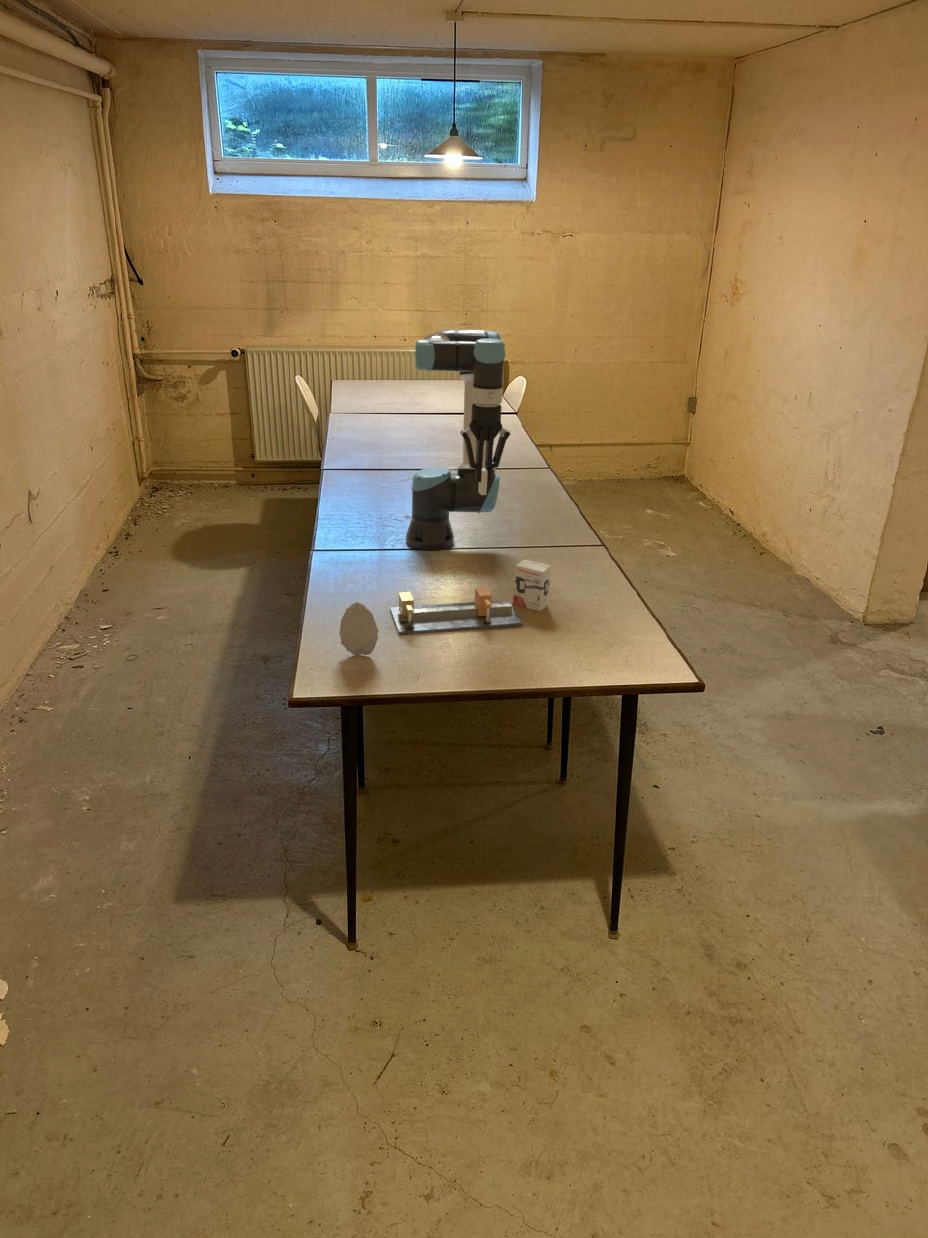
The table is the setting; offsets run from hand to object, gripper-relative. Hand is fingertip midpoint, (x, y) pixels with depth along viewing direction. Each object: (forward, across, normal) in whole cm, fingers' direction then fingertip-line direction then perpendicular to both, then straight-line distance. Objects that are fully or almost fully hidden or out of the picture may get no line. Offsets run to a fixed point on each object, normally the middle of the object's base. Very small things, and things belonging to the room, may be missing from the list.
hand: (482, 493), depth 225 cm
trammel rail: (+27, -10, -18) cm, 34 cm away
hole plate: (+28, -10, -16) cm, 34 cm away
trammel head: (+27, -3, -18) cm, 33 cm away
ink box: (+29, +12, -11) cm, 33 cm away
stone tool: (+29, -37, -32) cm, 57 cm away
